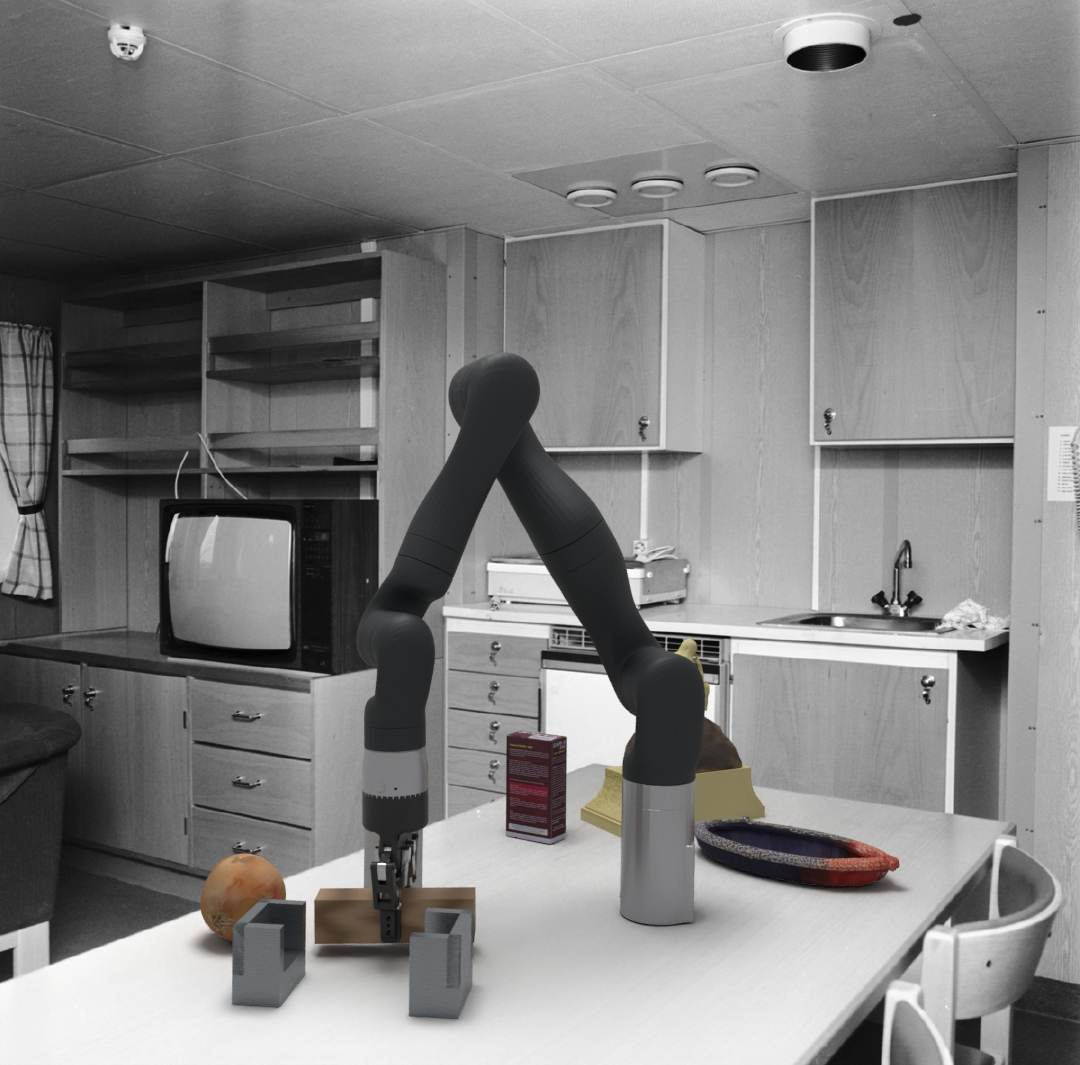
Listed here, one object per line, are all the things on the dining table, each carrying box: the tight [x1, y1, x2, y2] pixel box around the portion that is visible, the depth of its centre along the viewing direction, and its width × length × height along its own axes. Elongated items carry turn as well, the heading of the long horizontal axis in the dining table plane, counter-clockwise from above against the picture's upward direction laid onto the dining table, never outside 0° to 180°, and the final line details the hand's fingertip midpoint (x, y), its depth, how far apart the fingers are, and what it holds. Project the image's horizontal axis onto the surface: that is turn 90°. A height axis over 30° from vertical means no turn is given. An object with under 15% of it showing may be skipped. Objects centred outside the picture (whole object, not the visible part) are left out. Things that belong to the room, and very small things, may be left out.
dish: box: [694, 816, 900, 887], centre depth 165 cm, size 16×31×5 cm, turn 51°
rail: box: [313, 886, 477, 945], centre depth 133 cm, size 18×4×5 cm, turn 91°
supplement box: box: [505, 730, 568, 845], centre depth 179 cm, size 9×5×16 cm, turn 58°
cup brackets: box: [231, 899, 474, 1020], centre depth 121 cm, size 23×8×8 cm, turn 84°
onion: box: [200, 853, 287, 942], centre depth 136 cm, size 10×10×10 cm
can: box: [363, 828, 424, 888], centre depth 150 cm, size 8×8×12 cm
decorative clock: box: [580, 638, 766, 839], centre depth 191 cm, size 28×13×30 cm, turn 120°
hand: (395, 933), depth 133 cm, fingers closed on rail, 4 cm apart
